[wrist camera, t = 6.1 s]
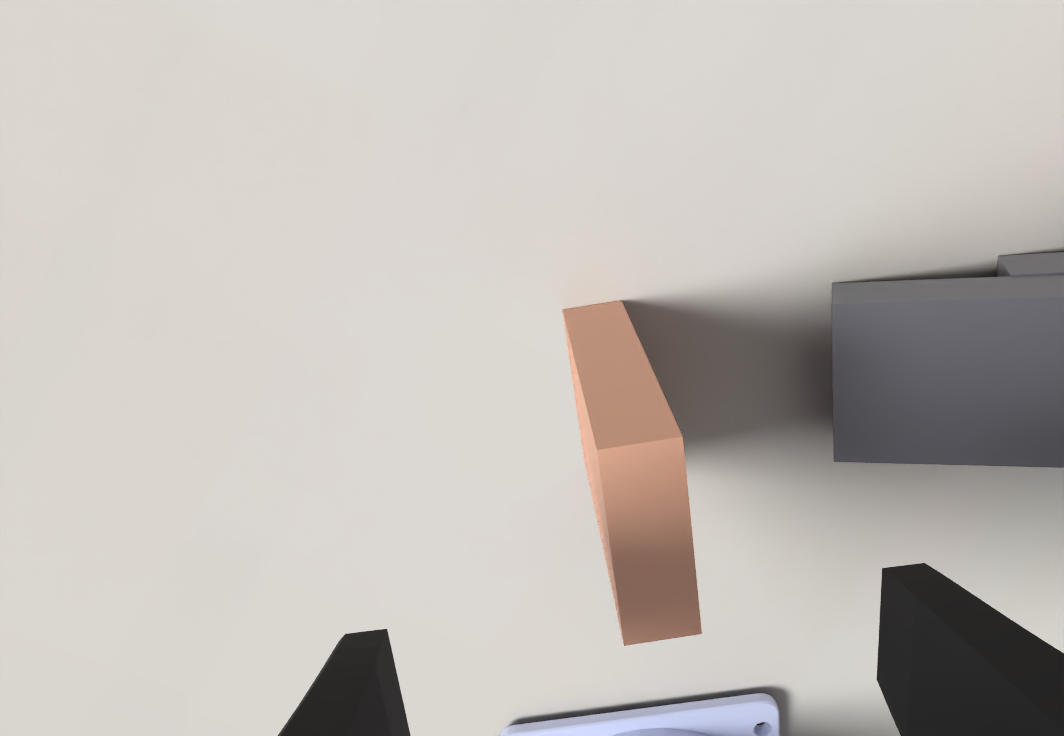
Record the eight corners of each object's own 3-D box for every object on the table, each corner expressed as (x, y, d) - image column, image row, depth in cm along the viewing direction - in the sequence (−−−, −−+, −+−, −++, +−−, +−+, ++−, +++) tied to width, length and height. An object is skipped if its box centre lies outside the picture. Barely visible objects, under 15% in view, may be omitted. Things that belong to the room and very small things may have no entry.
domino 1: (639, 449, 22) (701, 634, 16) (584, 458, 22) (623, 645, 16) (621, 300, 21) (682, 436, 14) (562, 309, 21) (597, 449, 14)
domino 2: (833, 433, 22) (1162, 438, 20) (833, 461, 21) (1183, 470, 19) (832, 283, 21) (1187, 269, 18) (831, 303, 20) (1211, 291, 17)
